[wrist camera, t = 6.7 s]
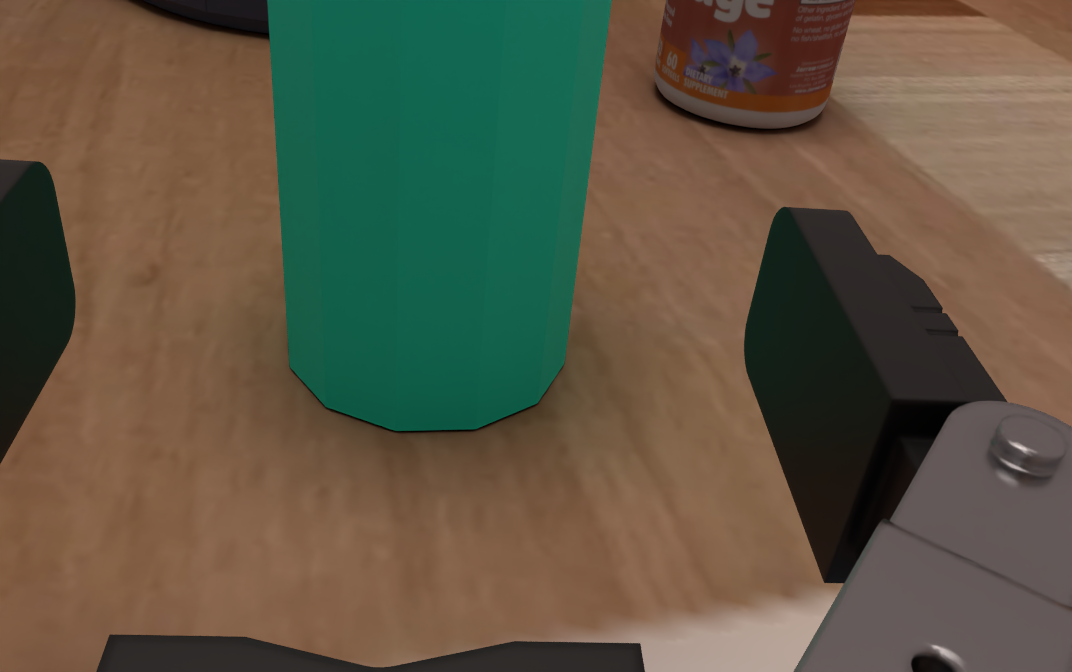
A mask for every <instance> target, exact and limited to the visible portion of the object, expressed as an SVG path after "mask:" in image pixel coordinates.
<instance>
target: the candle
mask: <svg viewBox="0 0 1072 672" xmlns="http://www.w3.org/2000/svg"><path fill="white" fill-rule="evenodd" d="M611 1H612V0H267V4H268V20H269V37H270V53H271V70H272V86H273V103H274V119H275V136H276V152H277V169H278V185H279V202H280V218H281V235H282V251H283V268H284V284H285V301H286V317H287V334H288V350H289V367H290V368H291V369H292V370H293V371H294V372H295V373H296V374H297V376H298V377H299V378H300V379H301V380H302V381H303V382H304V383H305V384H306V386H307V387H308V388H309V389H310V390H311V391H312V392H313V393H314V394H315V395H316V397H317V398H318V399H319V400H320V401H321V402H322V403H323V404H324V405H325V407H327V408H330V409H333V410H336V411H339V412H342V413H345V414H348V415H351V416H354V417H356V418H359V419H362V420H365V421H368V422H371V423H374V424H377V425H380V426H383V427H385V428H388V429H391V430H394V431H418V430H465V429H477V428H480V427H482V426H484V425H487V424H489V423H492V422H494V421H496V420H499V419H501V418H504V417H506V416H508V415H511V414H513V413H516V412H518V411H520V410H523V409H525V408H528V407H530V406H532V405H535V404H537V403H538V402H539V400H540V399H541V397H542V396H543V395H544V393H545V392H546V390H547V389H548V387H549V386H550V384H551V383H552V381H553V380H554V378H555V377H556V375H557V374H558V372H559V371H560V369H561V368H562V366H563V365H564V362H565V355H566V347H567V339H568V332H569V324H570V316H571V309H572V301H573V293H574V286H575V278H576V270H577V263H578V255H579V247H580V240H581V232H582V224H583V216H584V209H585V201H586V193H587V186H588V178H589V170H590V163H591V155H592V147H593V140H594V132H595V124H596V117H597V109H598V101H599V94H600V86H601V78H602V71H603V63H604V55H605V47H606V40H607V32H608V24H609V17H610V9H611Z"/></svg>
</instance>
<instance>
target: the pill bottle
mask: <svg viewBox="0 0 1072 672" xmlns="http://www.w3.org/2000/svg"><path fill="white" fill-rule="evenodd" d="M854 3H855V0H666V5H665V11H664V16H663V22H662V28H661V33H660V39H659V45H658V52H657V56H656V66H655V73H654V74H655V81H656V85H657V87H658V89H659V90H660V92H661V93H662V95H663V96H664V97H665V98H666V99H668V100H669V101H670V102H672V103H673V104H675V105H677V106H679V107H680V108H682V109H684V110H687V111H689V112H691V113H694V114H696V115H699V116H701V117H704V118H708V119H712V120H715V121H719V122H723V123H727V124H732V125H737V126H744V127H751V128H763V129H777V128H786V127H791V126H796V125H799V124H802V123H805V122H807V121H809V120H811V119H813V118H815V117H816V116H817V115H819V114H820V113H821V112H822V110H823V109H824V107H825V105H826V103H827V100H828V97H829V94H830V91H831V87H832V83H833V79H834V76H835V72H836V68H837V65H838V61H839V58H840V54H841V51H842V47H843V43H844V39H845V36H846V32H847V28H848V25H849V21H850V18H851V14H852V11H853V7H854Z"/></svg>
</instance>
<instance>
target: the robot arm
mask: <svg viewBox="0 0 1072 672" xmlns="http://www.w3.org/2000/svg"><path fill="white" fill-rule="evenodd" d="M942 309H943V308H942V306H941V305H940V303H939V302H938V300H937V299H936V298H935V296H934V295H933V293H932V292H931V290H930V289H929V287H928V286H927V284H926V283H925V282H924V280H923V279H921V278H920V277H919V276H917V275H916V274H914V273H913V272H912V271H910V270H909V269H908V268H906V267H905V266H904V265H902V264H901V263H899V262H898V261H897V260H895V259H894V258H893V257H891V256H890V255H877V253H876V252H875V250H874V249H873V247H872V246H871V244H870V242H869V241H868V239H867V238H866V236H865V235H864V233H863V232H862V230H861V228H860V227H859V225H858V224H857V222H856V221H855V219H854V218H853V216H852V215H851V214H850V213H849V212H848V211H843V210H826V209H809V208H792V207H783V208H781V209H780V210H779V211H778V212H777V213H776V215H775V217H774V219H773V222H772V224H771V228H770V231H769V235H768V239H767V243H766V247H765V251H764V255H763V259H762V263H761V267H760V271H759V275H758V279H757V283H756V287H755V291H754V295H753V299H752V303H751V307H750V310H749V314H748V318H747V323H746V329H745V340H744V355H745V365H746V370H747V374H748V377H749V379H750V382H751V385H752V388H753V390H754V393H755V396H756V398H757V401H758V404H759V407H760V409H761V412H762V415H763V417H764V420H765V423H766V426H767V428H768V431H769V434H770V437H771V439H772V442H773V445H774V447H775V450H776V453H777V456H778V458H779V461H780V464H781V466H782V469H783V472H784V475H785V477H786V480H787V483H788V486H789V488H790V491H791V494H792V496H793V499H794V502H795V505H796V507H797V510H798V513H799V515H800V518H801V521H802V524H803V526H804V529H805V532H806V535H807V537H808V540H809V543H810V545H811V548H812V551H813V554H814V556H815V559H816V562H817V564H818V567H819V570H820V573H821V575H822V578H823V581H824V583H844V585H843V587H842V588H841V590H840V592H839V594H838V595H837V597H836V599H835V601H834V602H833V604H832V606H831V608H830V609H829V611H828V613H827V614H826V616H825V618H824V620H823V621H822V623H821V625H820V627H819V628H818V630H817V632H816V634H815V635H814V637H813V639H812V641H811V642H810V644H809V646H808V648H807V649H806V651H805V653H804V655H803V656H802V658H801V660H800V662H799V663H798V665H797V667H796V669H795V670H794V672H1072V427H1071V426H1069V425H1068V424H1066V423H1064V422H1062V421H1060V420H1059V419H1057V418H1055V417H1052V416H1050V415H1048V414H1046V413H1044V412H1041V411H1038V410H1035V409H1033V408H1030V407H1026V406H1022V405H1018V404H1014V403H1008V402H1007V401H1006V399H1005V398H1004V396H1003V395H1002V393H1001V392H1000V391H999V389H998V388H997V386H996V385H995V383H994V382H993V380H992V379H991V377H990V376H989V375H988V373H987V372H986V370H985V369H984V367H983V366H982V364H981V363H980V361H979V360H978V359H977V357H976V356H975V354H974V353H973V351H972V350H971V348H970V347H969V345H968V344H967V343H966V341H965V340H964V338H963V337H960V336H958V329H957V328H956V327H955V325H954V324H953V322H952V321H951V319H950V318H949V316H948V315H947V314H946V313H942ZM74 319H75V289H74V283H73V278H72V273H71V268H70V263H69V257H68V252H67V247H66V242H65V237H64V232H63V227H62V222H61V217H60V212H59V207H58V202H57V197H56V192H55V187H54V183H53V180H52V177H51V174H50V172H49V170H48V169H47V167H46V166H45V165H44V164H43V163H41V162H35V161H18V160H1V159H0V463H1V462H2V460H3V458H4V456H5V455H6V453H7V451H8V449H9V447H10V446H11V444H12V442H13V440H14V439H15V437H16V435H17V433H18V431H19V430H20V428H21V426H22V424H23V422H24V421H25V419H26V417H27V415H28V414H29V412H30V410H31V408H32V406H33V405H34V403H35V401H36V399H37V397H38V396H39V394H40V392H41V390H42V389H43V387H44V385H45V383H46V381H47V380H48V378H49V376H50V374H51V373H52V371H53V369H54V367H55V365H56V364H57V362H58V360H59V358H60V356H61V355H62V353H63V351H64V349H65V348H66V346H67V344H68V342H69V339H70V337H71V334H72V330H73V325H74ZM97 672H645V670H644V664H643V658H642V652H641V645H640V643H583V642H523V641H514V642H509V643H504V644H499V645H495V646H490V647H485V648H480V649H475V650H470V651H465V652H460V653H456V654H451V655H446V656H441V657H436V658H431V659H426V660H422V661H417V662H412V663H407V664H402V665H397V666H392V667H384V668H381V667H368V666H363V665H359V664H355V663H351V662H347V661H342V660H338V659H334V658H330V657H326V656H322V655H318V654H313V653H309V652H305V651H301V650H297V649H293V648H289V647H285V646H280V645H276V644H272V643H268V642H264V641H260V640H256V639H252V638H247V637H222V636H161V635H109V638H108V641H107V644H106V646H105V649H104V652H103V655H102V658H101V660H100V663H99V666H98V669H97Z"/></svg>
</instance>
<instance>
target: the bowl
mask: <svg viewBox="0 0 1072 672" xmlns="http://www.w3.org/2000/svg"><path fill="white" fill-rule="evenodd" d="M144 1H145V2H147V3H150V4H152V5H154V6H157V7H159V8H161V9H164V10H166V11H169V12H172V13H175V14H178V15H181V16H184V17H188V18H191V19H195V20H199V21H203V22H207V23H211V24H215V25H219V26H225V27H230V28H235V29H240V30H246V31H252V32H259V33H267V34H269V20H268V4H267V0H144Z"/></svg>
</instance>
